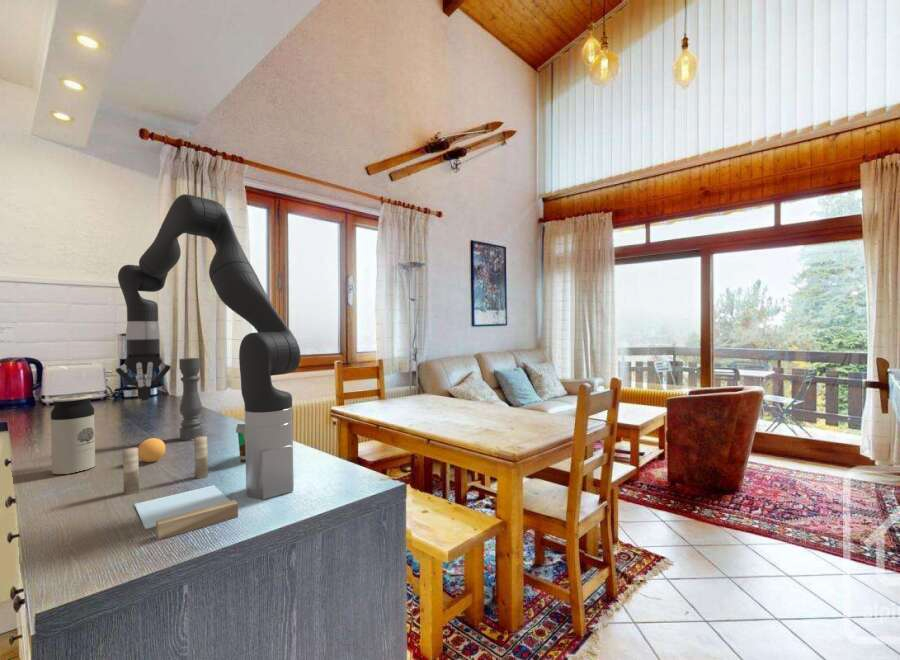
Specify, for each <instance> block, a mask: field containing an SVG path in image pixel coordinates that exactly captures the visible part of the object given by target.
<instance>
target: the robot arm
mask: <svg viewBox="0 0 900 660" xmlns="http://www.w3.org/2000/svg"><path fill="white" fill-rule="evenodd" d="M184 234H187V235H191V236H196V237H203V238H208V240H210V241H211V242H212V244H213V246H214V248H215V253H214V255H213V257H212V259H211V262H210V264H209V268H208V273H209V280H210V281H211V283H212V286H213V288H214V289H215V291H216V294H217V295H218V297H219V300H220V301H221V302H222V303H223V304H224V305H225V306H227V307H228V308H229V309H230V310H232V311H233V312H234V313H235V314H237V315H238V316H240V318H242V319H243V320H245V321H246V322H247V323H249V324H250V325H251V326H252V327H253V328H254V329H255V331H257V332H249V333H247V334H246V335H244V337H243V338H242V340H241V342H240V345H239V352H238V354H239V355H238V361H239V362H238V363H239V365H238V366H239V374H240V387H241V388H240V390H241V395H242V397H241V398H242V400H243V403H244V424H245V453H246V462H245V491H246V492H245V494H246V495H247V496H248V497H251V498H255V499H257V498H259V499H262V500H266V499H269V498H274V497H277V496H280V495H284V494H287V493H292V492H294V478H295V477H294V439H293V438H294V437H293V434H294V433H293V431H294V430H293V396H292V394H291V393H290V392H288V391H285V390H280V389H277V388H276V387H274V385H273V382H272V377H273V376H279V375H286V374H290V373H293V372H295V371H296V370H297V369H298V367H299V366H300V364H301V357H302V356H301V355H302V354H301V348H300V346H299V343H298V341H297V339H296V337H295V336H294V334H293V332H292V331H291V329H290V328H289V326H288V325H287V323H286V322H285V321H284V319H283V318H282V317H281V315H280V314H279V313H278V310H276V308H275V305H274V304H273V303H272V301H271V299H270V298H269V296H268V294H267V292H266V291H265V289H264V287H263V284H262V283H261V281H260V278H259V276H258V275H257V273H256V272H255V269H254V267H253V265H252V264H251V262H250V261H249V260H248V259H249V258H248V257H247V256H246V254H245V252H244V249H243V248H242V246H241V244H240V242H239V239H238V237H237V235H236V232H235V229H234V227H233V224H232V221H231V219H230V216H229V214H228V212H227V210H226V208H225V207H224V206H223V204H221V203H219V202H218V201H216V200H212V199H209V198H205V197H200V196H196V195H193V194H184V193H183V194H181V195H179V196H178V197H176V198H175V199H174V201H173V202H172V203H171V205H170V207H169V209H168V211H167V214H166V215H165V218H164V219H163V221H162V223H161V226H160V228H159V230H158V233H157V235H156V236H155V239H154V240H153V241H152V243H151V244H150V245H149V246H148V248H147V249H146V250H145V251H144V253H143V254H142V255H141V256H140V257H139V261H138V265H134V264H124V265H123V266H122V267H120V269H119V271H118V273H117V281H118V284H119V287H120V290H121V292H122V295H123V297H124V302H125V305H126V330H125V332H126V333H125V340H126V342H125V343H126V344H125V345H126V350H125V351H126V358H125V360H124V362H123V363H124V364H122V365H120V366H119V367H116V368H115V372H116V373H117V374H118V375H119V376H121V378H122V379H124V381H126V383H128V384H129V385H130V386H131V387H137V399H138V400H140V401H141V402H143V401H149V400H148V399H150V398H151V394H152V393H151V390H152V389H151V387H152V386H153V385H156V384H158V383H159V382H160V381H161V380H162V379H163V378H164V377H165V375H166V374H167V373H168V372H170V369H171V367H172V366H171V365H170V364H166V363H165V362H163V359H162V357H161V347H160V346H161V345H160V342H161V341H160V338H161V337H160V326H159V307H158V303H157V302H156V301H154V300H151V299H146V298H144V297H142V296H141V295H140V293H139V292H148V293H155V292H159V291H161V290H162V289H163V288H164V287H165V284H166V280H167V277H168V274H169V272H170V271H171V270H172V269H173V268H174V267H175V266H176V265H177V264H178V263H179V260H180V258H181V254H182V253H181V245H180V243H179V240H178V238H179V237H180V236H182V235H184ZM127 368H128V369H129V370H130V371H131V373H133V374H134V375H135V379H136V380H134V379H133V378H132V377H130V375H128V374H127V373H128V369H127ZM158 368H159V371H158V373H157V374H156V375H155V376H154V377H153V374H154V373H155V372H156V371H157V369H158Z"/></svg>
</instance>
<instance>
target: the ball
mask: <svg viewBox="0 0 900 660" xmlns="http://www.w3.org/2000/svg"><path fill="white" fill-rule="evenodd" d="M166 447H167V446H166V443H165V442H164V441H163V440H162V439H160V438H155V437H151V438H147V439H145V440H143V441H142V442H141V443H140V444H139V445H138V447H137V448H138V459H139V460H141V461H142V462H146V463H154V462H157V461H158V460H160V459H161V458H162V457H163V456H164V454H165V453H166Z"/></svg>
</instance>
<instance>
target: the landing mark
mask: <svg viewBox="0 0 900 660" xmlns="http://www.w3.org/2000/svg"><path fill="white" fill-rule="evenodd" d="M228 501H231V500H230V499H229V498H228V497H227V496H226V495H225V494H224V493H223V492H222V491H221V490H220V489H219V488H218V487H217V486H216V485H215V484H213V485H209V486H205V487H201V488H196V489H193V490H188V491H184V492H180V493H176V494H175V493H174V494H171V495H168V496H163V497H159V498H155V499H154V498H153V499H150V500H146V501H142V502H136V503H134V507H135V509H136V512H137V513H138V516H139V518H140V521H141V522H142V525H143V527H144V530H149V529H152V528H156V521H157V520H160V519H164V518H168V517H172V516H175V515H179V514H183V513H187V512H190V511H194V510H198V509H202V508H206V507H209V506H213V505H217V504H221V503H224V502H228Z"/></svg>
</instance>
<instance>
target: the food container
mask: <svg viewBox="0 0 900 660" xmlns="http://www.w3.org/2000/svg"><path fill="white" fill-rule="evenodd" d="M235 428H236V429H235V433H237V438H238V440H237V441H238V450H239V461H240V463H246V453H245V423H237V425H236V427H235Z"/></svg>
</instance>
